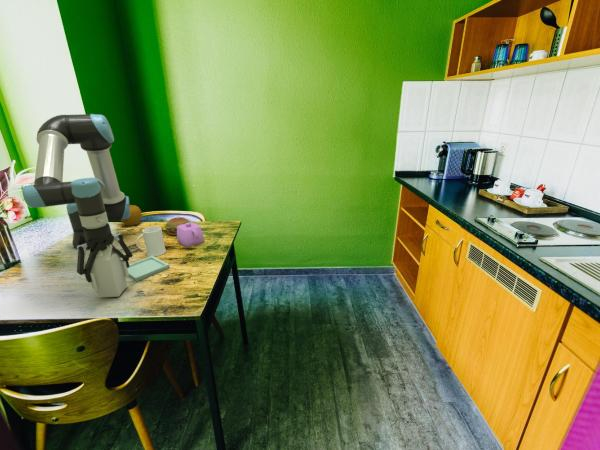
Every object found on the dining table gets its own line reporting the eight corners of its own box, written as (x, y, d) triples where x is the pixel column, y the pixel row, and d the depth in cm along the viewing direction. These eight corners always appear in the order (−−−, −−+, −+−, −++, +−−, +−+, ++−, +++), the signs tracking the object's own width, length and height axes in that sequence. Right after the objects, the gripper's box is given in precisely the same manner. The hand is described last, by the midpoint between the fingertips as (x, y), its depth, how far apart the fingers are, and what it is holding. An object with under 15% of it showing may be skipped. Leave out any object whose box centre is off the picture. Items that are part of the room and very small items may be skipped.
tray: (120, 271, 128) (119, 267, 127) (153, 259, 138) (152, 255, 137) (136, 282, 119) (135, 278, 119) (169, 268, 130) (168, 264, 129)
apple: (126, 229, 174) (122, 210, 170) (115, 225, 180) (110, 207, 176) (148, 222, 184) (144, 204, 180) (136, 219, 190) (132, 201, 186)
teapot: (173, 239, 159) (170, 221, 156) (192, 234, 166) (189, 216, 162) (188, 250, 147) (185, 230, 143) (208, 243, 154) (206, 224, 150)
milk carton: (108, 287, 115) (95, 241, 108) (127, 286, 116) (116, 240, 109) (98, 298, 109) (84, 250, 102) (119, 296, 109) (106, 249, 102)
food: (168, 239, 160) (166, 224, 157) (163, 230, 171) (161, 217, 169) (195, 233, 167) (193, 219, 164) (189, 226, 178) (187, 213, 175)
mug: (140, 260, 137) (135, 235, 133) (137, 253, 144) (132, 230, 139) (168, 253, 144) (163, 229, 139) (163, 247, 150) (159, 224, 146)
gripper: (59, 238, 92) (79, 300, 100) (135, 218, 108) (147, 272, 116) (51, 232, 96) (71, 292, 104) (125, 214, 113) (137, 267, 121)
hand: (111, 282), depth 110 cm, fingers closed on milk carton, 10 cm apart
